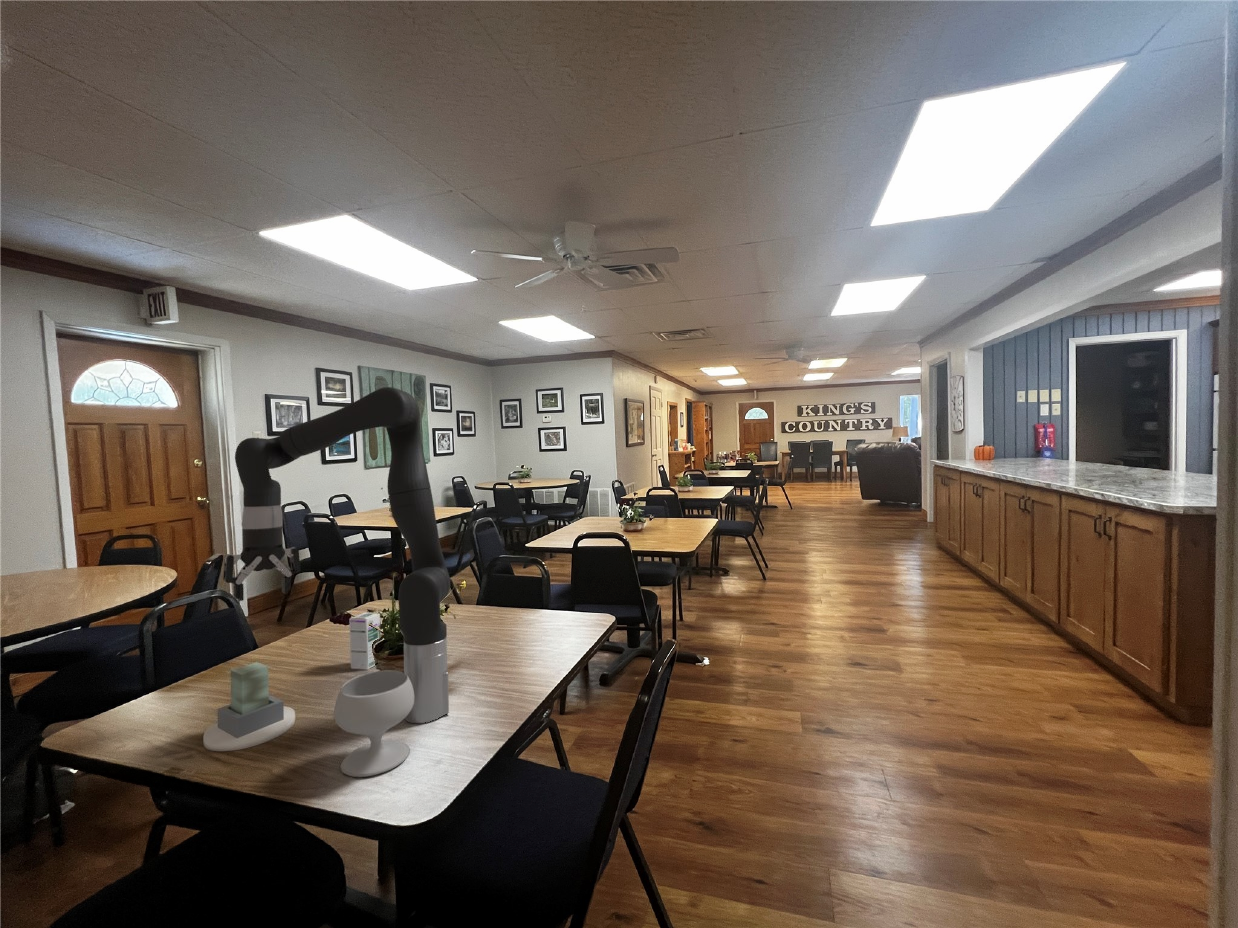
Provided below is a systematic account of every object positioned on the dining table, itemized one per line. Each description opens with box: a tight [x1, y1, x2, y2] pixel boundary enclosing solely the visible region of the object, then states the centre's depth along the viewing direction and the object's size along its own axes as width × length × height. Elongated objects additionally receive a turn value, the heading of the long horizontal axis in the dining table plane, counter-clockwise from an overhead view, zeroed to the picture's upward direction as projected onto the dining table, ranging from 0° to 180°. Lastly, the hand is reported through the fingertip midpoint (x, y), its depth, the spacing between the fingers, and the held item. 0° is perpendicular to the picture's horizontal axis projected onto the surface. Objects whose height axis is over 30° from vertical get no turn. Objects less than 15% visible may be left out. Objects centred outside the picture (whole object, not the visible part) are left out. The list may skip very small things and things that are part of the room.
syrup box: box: [349, 611, 381, 671], centre depth 144 cm, size 6×6×14 cm
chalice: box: [333, 669, 414, 778], centre depth 97 cm, size 14×14×15 cm
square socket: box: [202, 694, 296, 752], centre depth 109 cm, size 16×16×6 cm
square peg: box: [230, 661, 270, 715], centre depth 109 cm, size 5×5×12 cm
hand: (263, 596), depth 115 cm, fingers open, 8 cm apart
